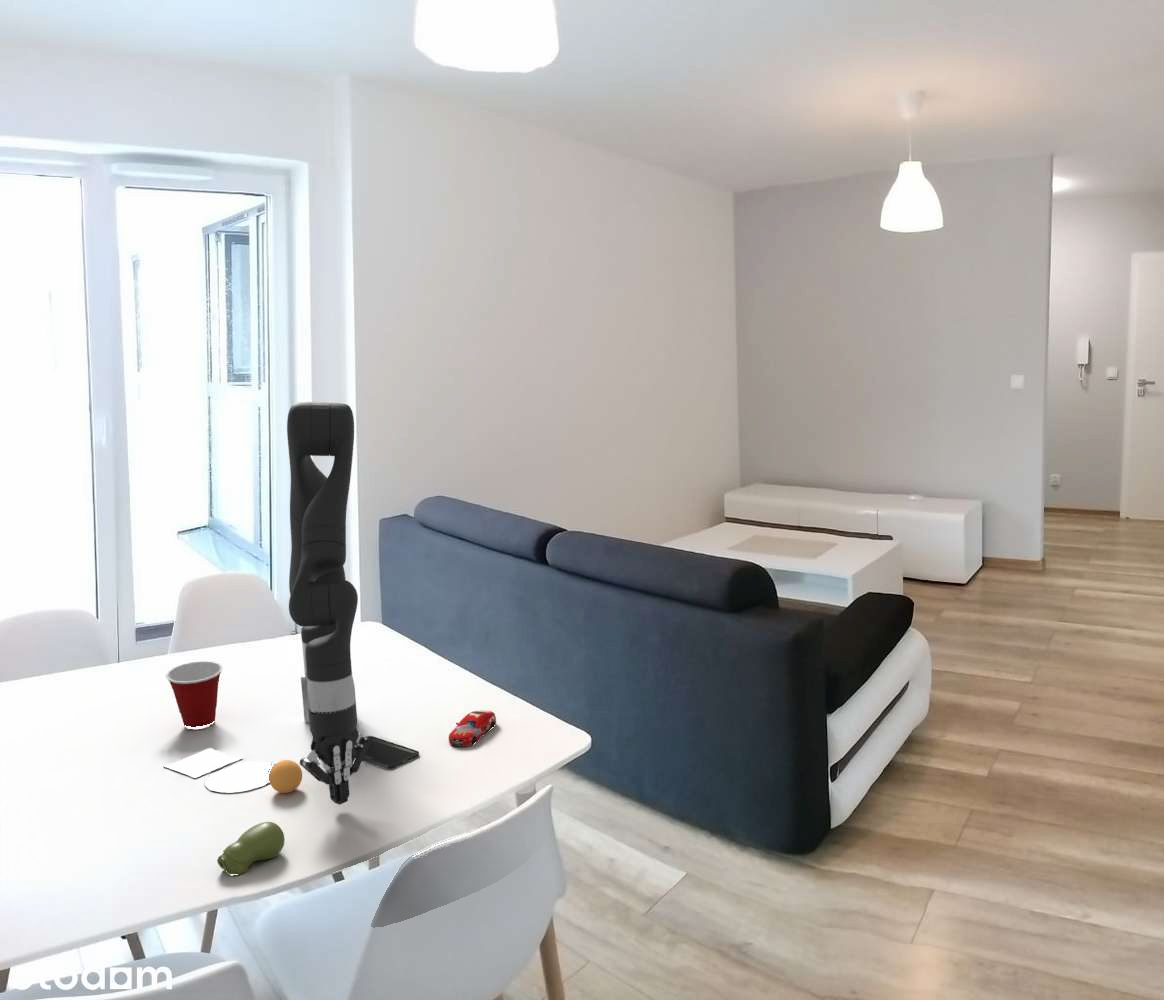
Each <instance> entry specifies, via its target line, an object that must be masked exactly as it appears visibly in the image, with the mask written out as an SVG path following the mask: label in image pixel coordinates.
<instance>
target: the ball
mask: <svg viewBox="0 0 1164 1000" xmlns="http://www.w3.org/2000/svg"><path fill="white" fill-rule="evenodd" d="M274 764H275V765H274V766H273V767H272V769H271V771H270V774H269V781H270V784H269V785H270V786H271V788H272V789H274V790H275V791H276V792H278V793H281V794H288V793H292V792H294V790H296V789H298V787H299V786H300V784H301V782H302V781H303V770H302V768H301V767H300V766H301V765H300V764H298V763H297V762H296V761H293V760H290V759H282V760H280V761H278V762H276V763H274Z"/></svg>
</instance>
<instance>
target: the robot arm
mask: <svg viewBox="0 0 1164 1000" xmlns="http://www.w3.org/2000/svg"><path fill="white" fill-rule="evenodd" d="M286 421H287V422H286V433H287V435H286V437H287V445H288V446H287V447H288V457H289V466H290V467H289V468H290V492H289V493H290V494H289V497H290V498H289V523H290V524H289V525H290V538H291V540H290V541H291V550H290V551H291V553H290V564H289V580H288V582H289V583H288V588H289V600H288V611H289V615H290V618H291V620H292V621H293V622H294V623H295V624H296V625H298V627H299V626H300V627H301V629H300V630H301V631H300V635H301V636H300V637H301V646H302V647H301V648H302V656H303V669H304V674H303V675H302V676H301V678H300V685H301V697H302V706H303V719H304V722H307V723H309V731H310V733H311V735H312V736H311V737H312V740H311V744H310V752H309V753H308V755H307V756H306V757H302V758H301V759H300V760H299V766H301V767H302V768H303V769H304V770H306V772H308V773H309V774H310V775H311V776H312V777H313V778H314V779H315V780H317V781H318V782H321V783H323V784H325V785H327V786H328V788H329V789H328V790H329V798H330V800H331V801H332V802H333V803H334V804H336V805H338V806H340V805H343V804H344V803H347V802H348V801H349V797H350V783H349V779H350V777H351V776H352V774H356V773H357V772H358V771H359V769H360V767H361V765H362V762H364V761H363V759H364V756H365V754H366V752H367V750H368V748H369V745H370V743H371V739H369V738H366V736H363V735H360V731H359V730H358V711H357V699H356V686H355V682H354V677H353V670H352V669H353V668H352V656H351V640H352V639H351V638H352V631H353V626H354V622H355V616H356V613H357V610H358V603H359V597H358V592H357V589H356V588H355V586H354V584H353V583H352V582H350V581H348V580H346V572H345V569H344V565H345V563H346V559H347V507H348V500H349V492H350V486H351V485H350V484H351V477H352V476H351V475H352V466H353V465H352V464H353V458H354V457H353V456H354V442H355V419H354V413H353V410H352V408H351V406H350V405H348V404H347V403H342V402H325V401H324V402H323V401H299V402H294V403H293V404H292V405H291V407H290V408H289V411H288V414H287V420H286ZM313 456H314V457H334V458H333V459H334V460H333V465H332V466H331V467H332V468H331V471H330V473H329V475H328V476H327V475H325V474H324V473H323V472H322V471H321V470H320V469H319V468H318V467H317V466H316V464H315V462H314V461H313V459H312V457H313ZM319 760H320V761H321V764H322V767H323V769H324V770H323V769H322V768H321V767H320V761H319Z"/></svg>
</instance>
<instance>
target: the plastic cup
mask: <svg viewBox="0 0 1164 1000" xmlns="http://www.w3.org/2000/svg"><path fill="white" fill-rule="evenodd" d="M222 671H223V666H222V665H221V663H218V662H215V661H208V660H207V661H206V660H202V661H200V660H199V661H191V662H187V663H183V664H179V665H177V666H174V667H173V668H171V669H170V670H168V671H167V672H166V674H165V677H166V679H167V680H168V683H169V684H170V687H171V689H172V691H173V694H174V698H175V701H176V704H177V708H178V711H179V713H180V716H181V719H182V723H184V724H183V725H184V726H185V725H186V726H191V727H196V726H203V725H207V724H210V723H212V722H213V721H215V720H216V716H217V715H216V714H217V713H216V712H217V706H218V705H217V704H218V693H219V692H218V691H219V682H220V677H221V673H222Z"/></svg>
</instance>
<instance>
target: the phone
mask: <svg viewBox="0 0 1164 1000" xmlns="http://www.w3.org/2000/svg"><path fill="white" fill-rule="evenodd" d="M365 737H366V738H369V739H371V743H370V745H369V748H368V750H367V752H366V754H365V756H364V759H363V761H362V762H364V763H368V764H370V765H373V766H375V767H376V766H377V767H378V768H382V769H385V770H393V769H396V768H398V767H401V766H403V765H404V764H405V763H409V762H411V761H414V760H416V759H418V758H419V757H420V752H419V750H416V749H412V748H410V747H406V746H404V745H401V744H398V743H394V742H391V741H389V740H386V739H382V738H379V737H376V736H373V735H367V736H365ZM415 758H416V759H415ZM413 759H414V760H413Z"/></svg>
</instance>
